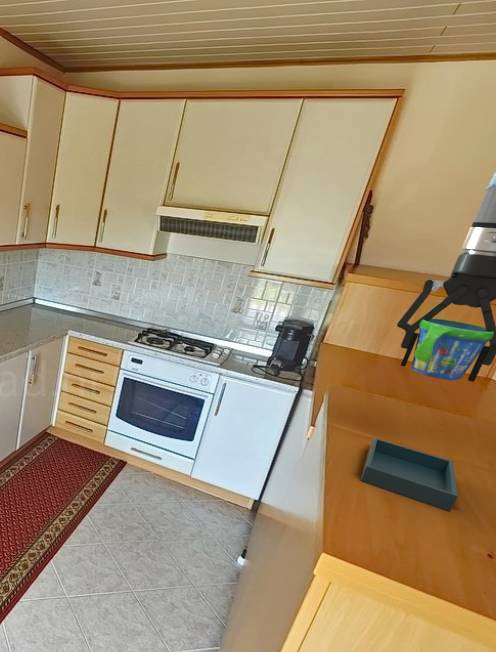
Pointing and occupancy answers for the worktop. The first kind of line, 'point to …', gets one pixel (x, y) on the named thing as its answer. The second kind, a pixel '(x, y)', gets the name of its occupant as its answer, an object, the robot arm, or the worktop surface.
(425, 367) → the snack cup
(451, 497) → the rectangular tray
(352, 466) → the worktop surface
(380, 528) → the worktop surface
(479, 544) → the worktop surface
